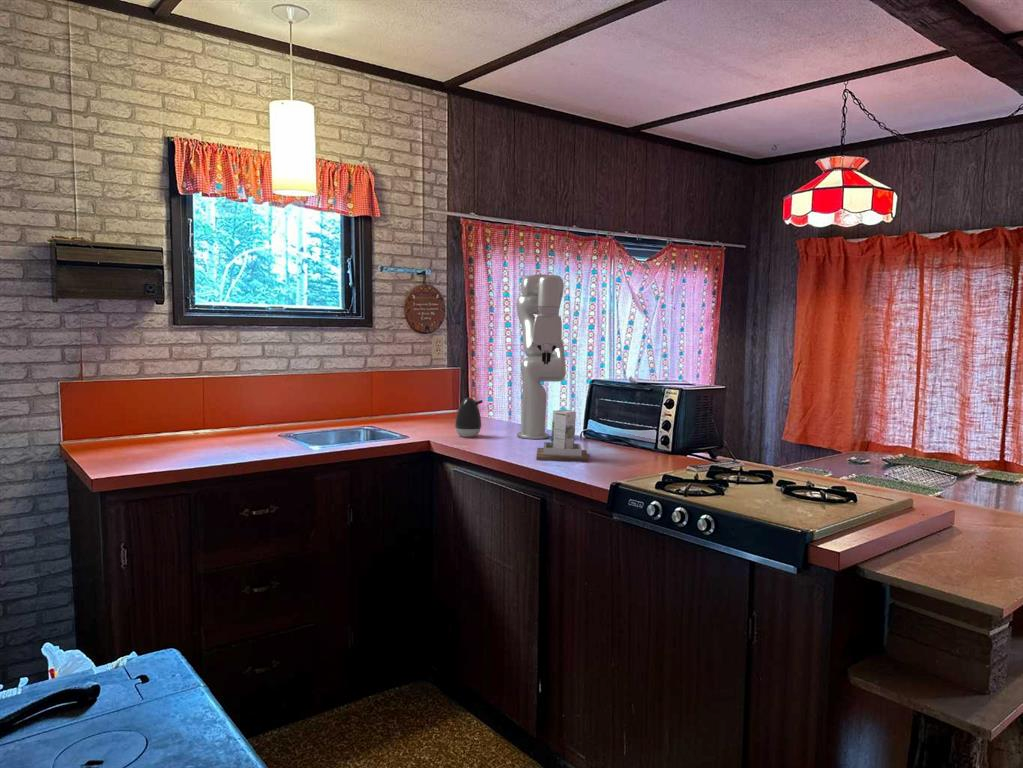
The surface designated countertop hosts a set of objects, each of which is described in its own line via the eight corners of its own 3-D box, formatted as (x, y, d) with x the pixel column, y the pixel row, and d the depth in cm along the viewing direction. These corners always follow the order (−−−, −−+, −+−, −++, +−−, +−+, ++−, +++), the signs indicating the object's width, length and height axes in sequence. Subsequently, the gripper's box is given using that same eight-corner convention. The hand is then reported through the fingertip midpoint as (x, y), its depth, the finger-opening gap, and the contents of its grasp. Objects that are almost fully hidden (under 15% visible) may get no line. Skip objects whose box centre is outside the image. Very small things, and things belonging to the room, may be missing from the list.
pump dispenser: (480, 439, 283) (482, 399, 281) (453, 437, 283) (454, 398, 281) (482, 435, 293) (483, 396, 291) (456, 434, 293) (457, 395, 292)
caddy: (537, 451, 260) (537, 440, 260) (586, 453, 259) (586, 442, 259) (536, 459, 243) (536, 448, 243) (588, 462, 242) (588, 451, 242)
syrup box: (560, 450, 255) (561, 409, 254) (574, 453, 251) (576, 410, 250) (550, 452, 251) (552, 410, 250) (564, 455, 247) (566, 411, 246)
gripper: (526, 311, 256) (524, 363, 258) (569, 312, 256) (567, 365, 257) (527, 311, 264) (525, 362, 266) (569, 312, 263) (566, 364, 265)
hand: (546, 363), depth 262 cm, fingers closed
